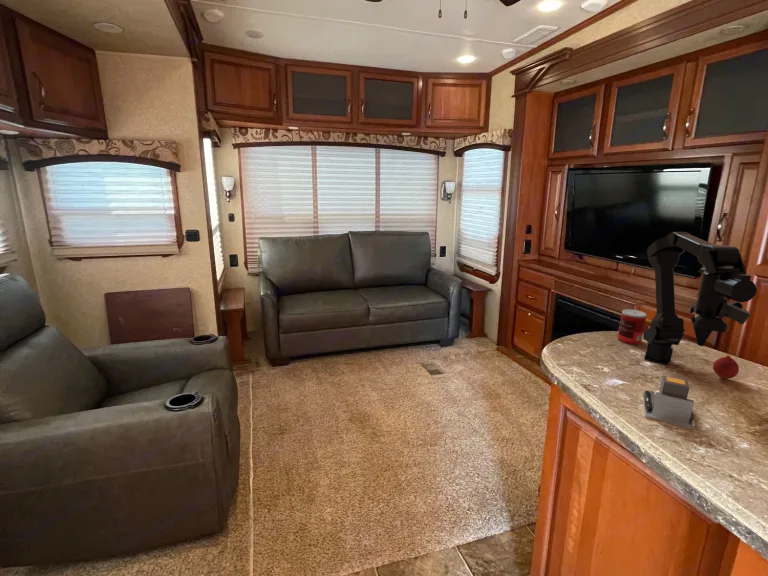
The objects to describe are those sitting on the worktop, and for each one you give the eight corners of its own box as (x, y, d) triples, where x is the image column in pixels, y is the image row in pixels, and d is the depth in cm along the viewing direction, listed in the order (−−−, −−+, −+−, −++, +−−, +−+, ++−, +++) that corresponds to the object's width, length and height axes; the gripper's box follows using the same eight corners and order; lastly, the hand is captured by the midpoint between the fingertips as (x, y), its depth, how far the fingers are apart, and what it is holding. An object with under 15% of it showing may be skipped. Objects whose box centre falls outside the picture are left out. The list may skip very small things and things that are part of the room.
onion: (735, 379, 118) (742, 354, 116) (734, 386, 114) (741, 361, 112) (711, 372, 122) (717, 349, 120) (709, 379, 118) (715, 354, 116)
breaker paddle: (656, 405, 102) (663, 374, 99) (679, 410, 99) (687, 379, 97) (657, 412, 98) (664, 381, 96) (681, 418, 96) (689, 386, 94)
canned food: (639, 338, 148) (644, 310, 145) (642, 346, 141) (648, 317, 138) (616, 335, 151) (621, 307, 148) (618, 342, 144) (623, 314, 141)
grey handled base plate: (642, 395, 109) (647, 372, 107) (687, 405, 104) (693, 382, 102) (644, 417, 99) (650, 392, 97) (694, 429, 94) (701, 404, 92)
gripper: (760, 305, 95) (745, 364, 99) (743, 289, 111) (730, 341, 114) (702, 297, 101) (690, 354, 105) (694, 283, 116) (683, 333, 120)
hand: (700, 345), depth 111 cm, fingers closed
